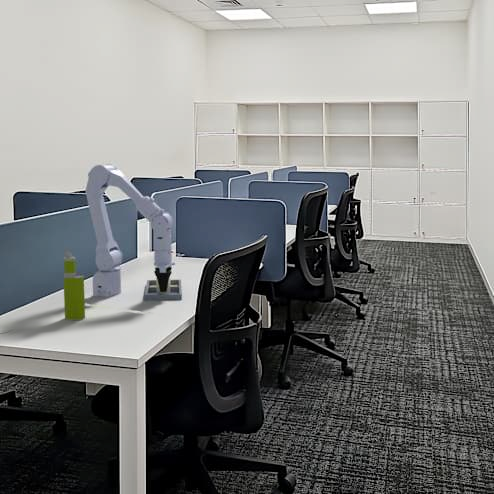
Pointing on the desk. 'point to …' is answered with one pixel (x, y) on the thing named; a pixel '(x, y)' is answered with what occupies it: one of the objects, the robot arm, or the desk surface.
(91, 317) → the desk surface
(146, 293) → the tray
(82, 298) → the vape
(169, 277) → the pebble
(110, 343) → the desk surface
